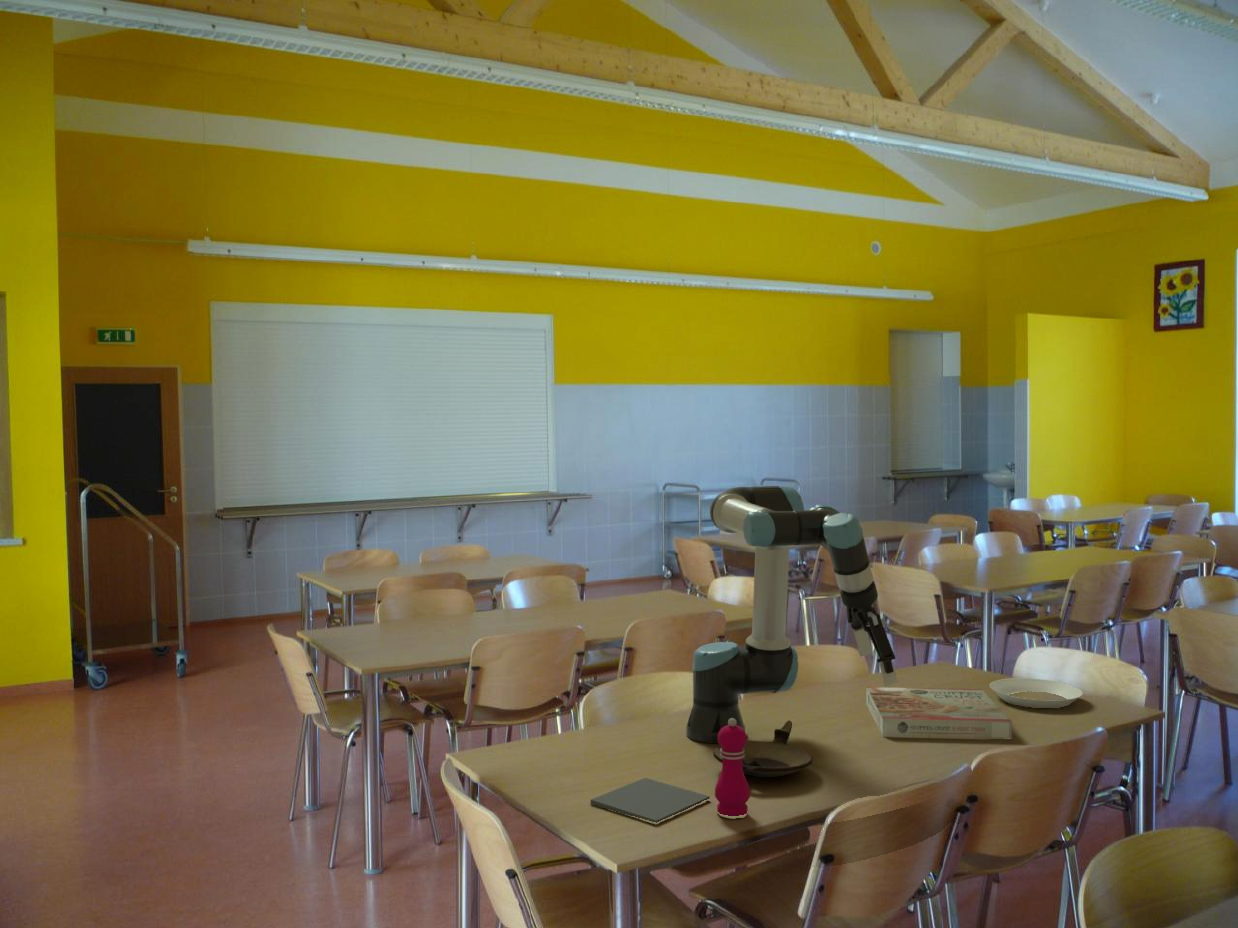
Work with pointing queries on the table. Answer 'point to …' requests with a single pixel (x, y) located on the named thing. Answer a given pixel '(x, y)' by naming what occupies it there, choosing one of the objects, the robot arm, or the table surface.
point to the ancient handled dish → (772, 756)
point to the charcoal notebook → (649, 800)
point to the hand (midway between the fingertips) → (878, 668)
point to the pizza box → (937, 713)
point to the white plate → (1037, 685)
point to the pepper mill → (732, 771)
